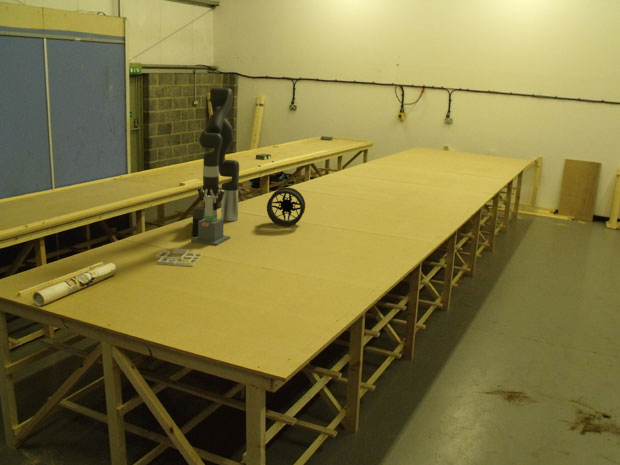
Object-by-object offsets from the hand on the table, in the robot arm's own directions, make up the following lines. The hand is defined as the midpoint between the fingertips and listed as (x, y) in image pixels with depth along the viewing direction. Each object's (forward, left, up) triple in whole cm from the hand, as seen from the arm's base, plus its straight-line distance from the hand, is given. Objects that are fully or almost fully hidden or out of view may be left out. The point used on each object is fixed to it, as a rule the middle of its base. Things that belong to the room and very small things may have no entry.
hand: (210, 209), depth 298 cm
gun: (-16, -14, -16) cm, 27 cm away
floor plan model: (+33, -2, -16) cm, 36 cm away
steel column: (0, 0, -10) cm, 10 cm away
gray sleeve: (0, 0, -15) cm, 15 cm away
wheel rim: (-45, +22, -16) cm, 52 cm away
